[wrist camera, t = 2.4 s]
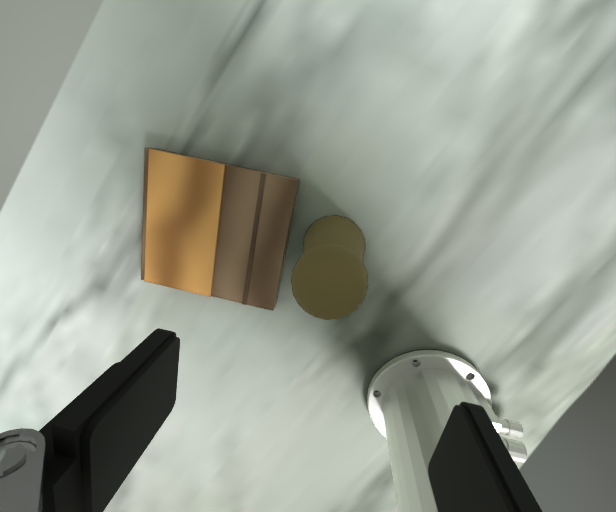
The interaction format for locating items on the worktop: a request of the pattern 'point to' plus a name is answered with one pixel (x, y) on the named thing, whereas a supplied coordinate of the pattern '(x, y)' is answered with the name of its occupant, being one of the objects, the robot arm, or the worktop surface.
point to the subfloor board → (215, 227)
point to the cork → (331, 269)
